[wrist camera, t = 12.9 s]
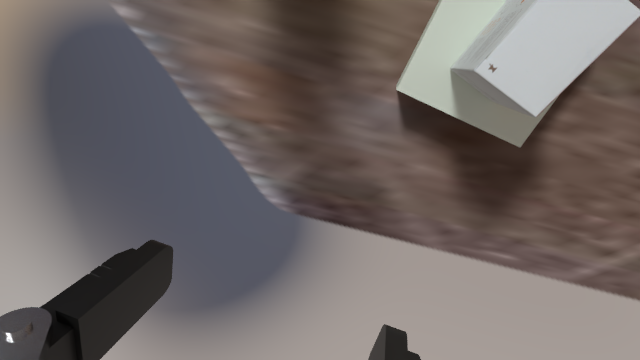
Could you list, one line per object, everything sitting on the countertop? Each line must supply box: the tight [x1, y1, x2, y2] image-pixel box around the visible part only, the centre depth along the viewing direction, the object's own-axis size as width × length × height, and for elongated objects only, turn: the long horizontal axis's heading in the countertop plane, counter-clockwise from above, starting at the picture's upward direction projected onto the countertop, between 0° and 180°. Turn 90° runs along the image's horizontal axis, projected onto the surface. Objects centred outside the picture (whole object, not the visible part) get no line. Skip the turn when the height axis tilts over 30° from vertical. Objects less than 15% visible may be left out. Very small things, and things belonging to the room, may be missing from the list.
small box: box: [450, 0, 640, 117], centre depth 25 cm, size 8×6×10 cm
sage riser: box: [396, 0, 558, 147], centre depth 32 cm, size 14×14×6 cm
